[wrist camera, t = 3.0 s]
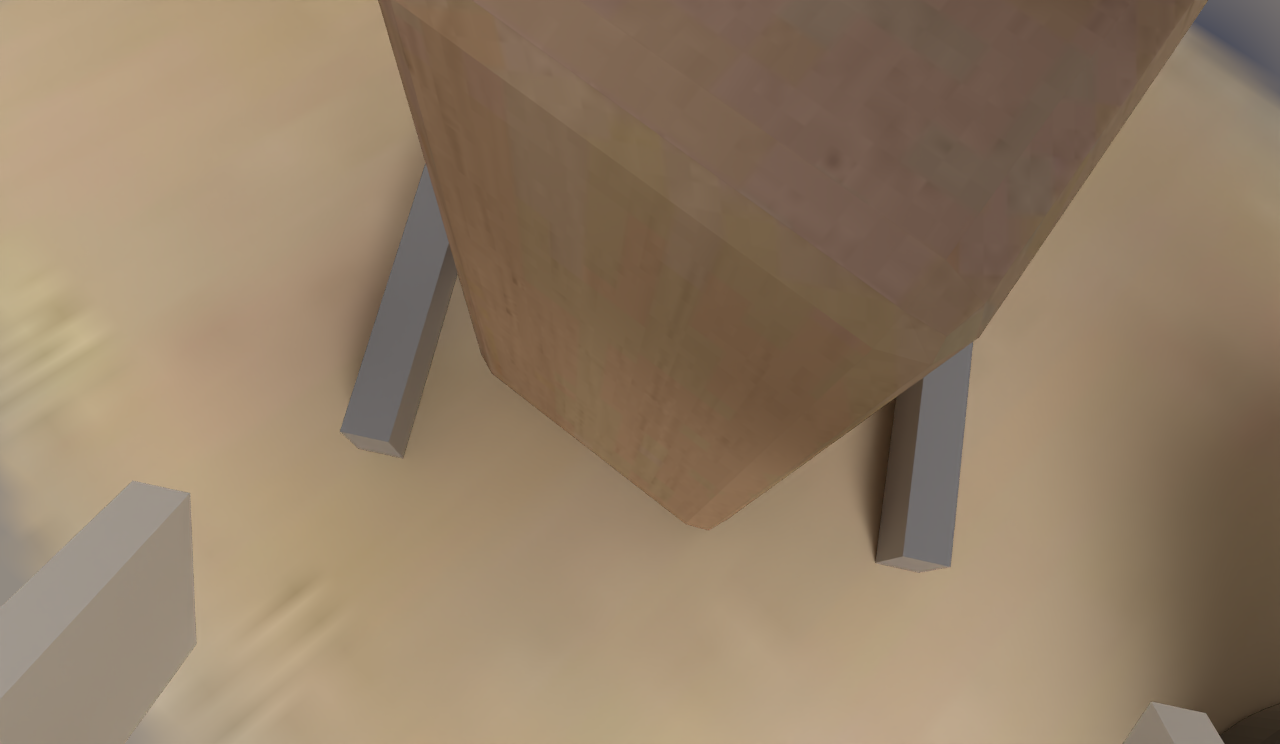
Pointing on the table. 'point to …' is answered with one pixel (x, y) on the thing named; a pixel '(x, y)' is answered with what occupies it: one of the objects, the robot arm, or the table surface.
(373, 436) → the chute
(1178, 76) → the table surface
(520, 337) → the wooden block
